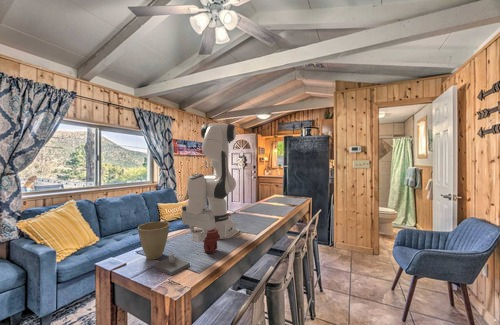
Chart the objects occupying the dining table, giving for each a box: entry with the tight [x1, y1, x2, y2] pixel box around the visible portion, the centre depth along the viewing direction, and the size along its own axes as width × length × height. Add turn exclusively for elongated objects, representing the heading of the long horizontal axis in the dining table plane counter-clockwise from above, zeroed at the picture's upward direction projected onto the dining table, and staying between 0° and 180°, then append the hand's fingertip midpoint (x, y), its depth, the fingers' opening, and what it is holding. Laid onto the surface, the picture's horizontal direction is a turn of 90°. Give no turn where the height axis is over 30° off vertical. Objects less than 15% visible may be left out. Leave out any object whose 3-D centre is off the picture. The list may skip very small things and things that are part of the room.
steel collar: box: [191, 228, 206, 243], centre depth 108 cm, size 6×6×4 cm
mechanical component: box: [202, 228, 221, 254], centre depth 119 cm, size 12×10×10 cm
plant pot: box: [137, 221, 170, 260], centre depth 114 cm, size 15×15×16 cm
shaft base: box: [153, 253, 191, 276], centre depth 102 cm, size 10×13×6 cm
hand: (198, 235), depth 108 cm, fingers closed on steel collar, 6 cm apart
